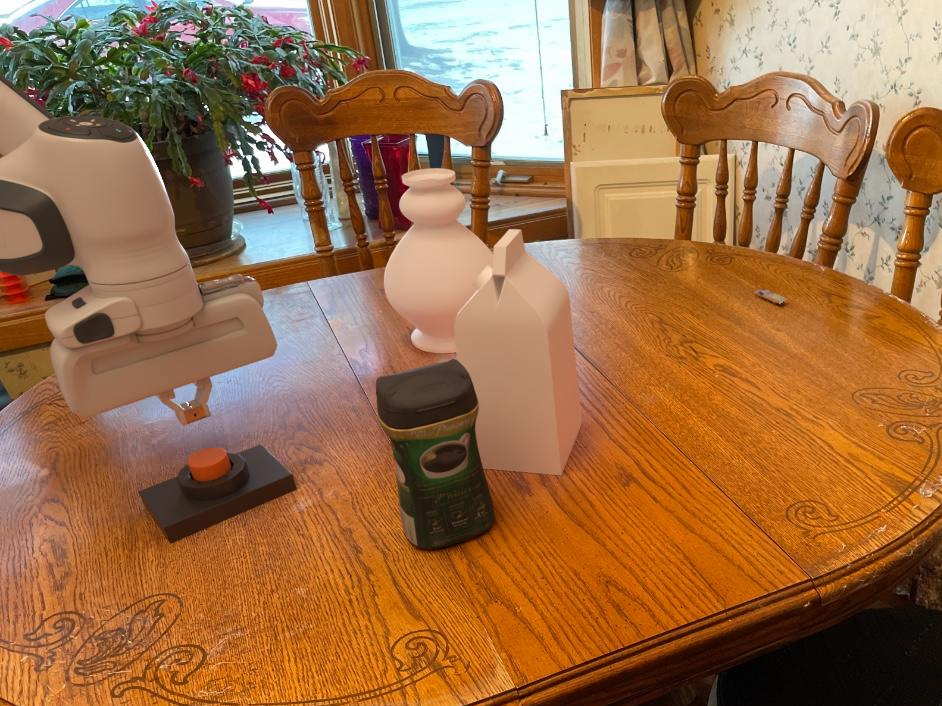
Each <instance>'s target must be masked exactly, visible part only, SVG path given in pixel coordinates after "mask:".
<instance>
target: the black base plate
mask: <svg viewBox="0 0 942 706" xmlns="http://www.w3.org/2000/svg"><path fill="white" fill-rule="evenodd" d="M226 453H227V455H228V458H229V461H230V464H231V471H229V472H228V473H227V474H226V475H224V476H222V477H220V478H217V479H215V480H209V481H202V482H200V481H196V480H194V478H193V476H192V473H191V471H190V468H189V466H188V463H187V464H186V465H184V466H183V467H181V469H179V472H178V474H177V476H175V477H172V478H169V479H167V480H164V481H162V482H159V483H156V484H154V485H150V486H148V487H146V488H144V489H140V490H138V495H139V497H140V499H141V502H142V504H143V506H144V508H145V509H146V510H147V512H148V514H149V516H151V518H152V519H153V521H154V522H155V524H156V525H157V526H158V528H159V529H160V531H161V532H162V534H163V535H164V537H165V538H166V539H167V541H168V542H169V544H173V543H176V542H177V541H181V540H183V539H184V538H187V537H189V536H191V535H194V534H196V533H199V532H201V531H204V530H205V529H206V530H207V529H209V528H210V527H212V526H216V525H217V524H219V523H222V522H224V521H227V520H229V519H232V518H234V517H236V516H238V515H240V514H243V513H246V512H248V511H250V510H253V509H255V508H257V507H260V506H262V505H264V504H266V503H269V502H271V501H274V500H276V499H278V498H280V497H282V496H285V495H287V494H290V493H292V492H294V491H297V485H296V482H295V481H296V480H295V478H294V474H293V472H291V471H290V470H289V468H287V467H286V466H285V465H283V463H282V462H281V461H279V460H278V458H276V456H275V455H274V454H273V453H271V452H270V451H269V449H267V448H266V447H265V446H264V445H263V444H262V443H260V444H258V445H255V446H252V447H250V448H247V449H244V450H241V451H240V452H237V453H235V452H230V451H226Z"/></svg>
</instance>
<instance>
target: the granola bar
mask: <svg viewBox="0 0 942 706" xmlns="http://www.w3.org/2000/svg"><path fill="white" fill-rule="evenodd" d="M755 293H757V294H759V295H761V296H764V297H766V298H769V299H771V300H774V301H776V302H779V305H782V304H781V303H783V301H786V300H788V299H787V298H786V297H784V296H782V295H780V294H777V293H775V292H772V291H770V290H769V289H765V288H761V289H758V290H756V291H753V294H755ZM783 304H784V303H783Z"/></svg>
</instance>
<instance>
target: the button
mask: <svg viewBox="0 0 942 706" xmlns="http://www.w3.org/2000/svg"><path fill="white" fill-rule="evenodd" d="M226 452H227V451H226V450H225V449H224V448H222V447H208V448H204V449H200V450H198V451H196V452H194V453H193V454H191V455H190V456H189V458H187V464H188V466H189V468H190V471H191V473H192V476H193V478H194V480H196V481H200V482H202V481H209V480H215V479H217V478H220V477H222V476H224V475H226V474H227V473H228V472H229V471H231V464H230V461H229V458H228V455H227V453H226Z"/></svg>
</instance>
